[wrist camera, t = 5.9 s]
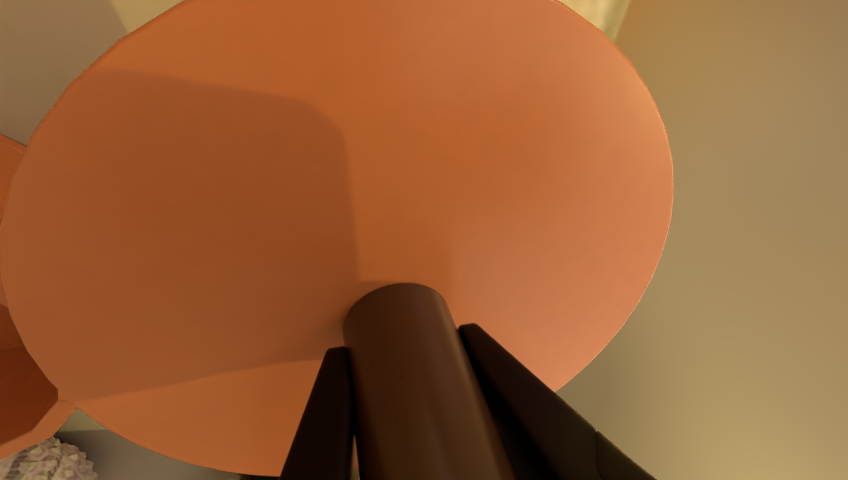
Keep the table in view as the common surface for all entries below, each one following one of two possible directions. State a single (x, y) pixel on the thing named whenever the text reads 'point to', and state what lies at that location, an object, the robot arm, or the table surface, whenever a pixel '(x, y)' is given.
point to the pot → (22, 360)
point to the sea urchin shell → (48, 463)
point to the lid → (334, 222)
